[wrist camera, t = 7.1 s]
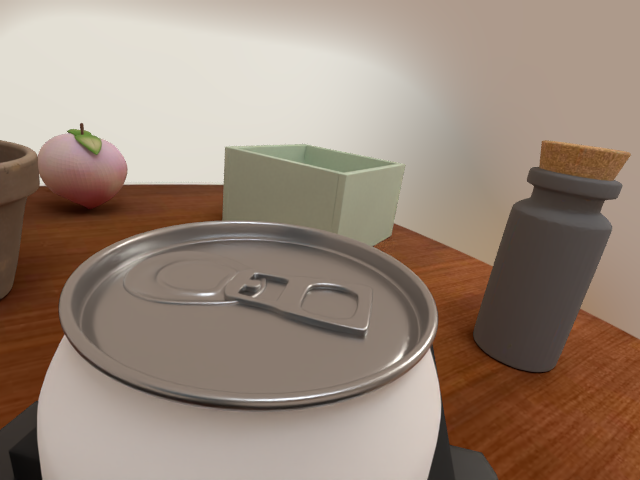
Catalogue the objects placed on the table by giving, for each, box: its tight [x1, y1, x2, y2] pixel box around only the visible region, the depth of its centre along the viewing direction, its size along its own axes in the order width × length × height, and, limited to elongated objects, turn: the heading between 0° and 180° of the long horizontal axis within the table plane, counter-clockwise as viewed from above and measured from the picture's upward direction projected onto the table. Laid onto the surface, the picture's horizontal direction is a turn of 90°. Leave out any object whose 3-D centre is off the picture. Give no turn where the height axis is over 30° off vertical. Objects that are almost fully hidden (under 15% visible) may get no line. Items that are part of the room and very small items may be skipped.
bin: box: [222, 144, 405, 246], centre depth 46 cm, size 16×16×10 cm
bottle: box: [473, 141, 631, 372], centre depth 26 cm, size 6×6×15 cm
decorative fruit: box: [38, 123, 127, 209], centre depth 43 cm, size 9×8×10 cm
